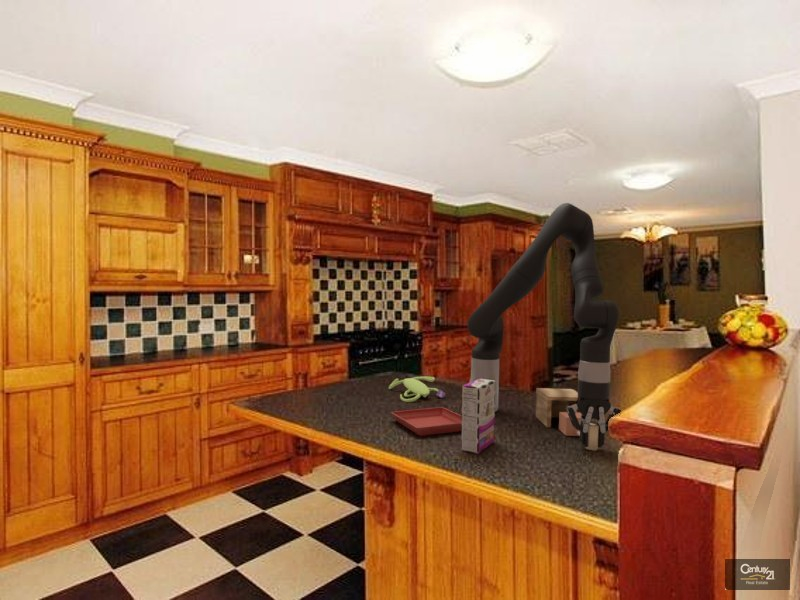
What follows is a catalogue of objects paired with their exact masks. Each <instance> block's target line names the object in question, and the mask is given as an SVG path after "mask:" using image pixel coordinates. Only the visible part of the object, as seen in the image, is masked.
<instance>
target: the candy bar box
mask: <svg viewBox="0 0 800 600" xmlns="http://www.w3.org/2000/svg"><path fill="white" fill-rule="evenodd" d="M495 412H496V411H495V381H494V380H488V379H477V380H475V381H472V382H470V381H469V382H468V383H465V384H463V385H461V416H462V430H461V431H460V432H461V433H460V434H461V435H460V436H461V438H460V439H461V443H460V445H461V447H460V449H461V451H462V452H463V451H464V452H466V453H467V452H468V453H471V454H477V455H478V454H480V453H482V452H483V451H484V450H485V449H488V447H490V446H491V445H492V444H494V442H495V426H496V425H495V417H496V414H495Z"/></svg>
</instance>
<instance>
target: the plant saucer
mask: <svg viewBox="0 0 800 600" xmlns="http://www.w3.org/2000/svg"><path fill="white" fill-rule="evenodd" d="M391 415H392V416H393V417H394V419H395V420H396V421H397V422H398V423H399V424H400V425H402V426H403V427H405V428H407V429H409V430H410V431H411V432H413V433H414V434H416V435H418V436H420V437H421V436H422V437H423V436H431V435H438V434H439V435H440V434H448V433H456V432H461V430H462V414H459V413H457V412H454V411H452V410H450V409H448V408H445V407H441V406H440V407H429V408H428V407H427V408H418V409H407V410H398V411H397V410H396V411H391Z"/></svg>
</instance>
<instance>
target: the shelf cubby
mask: <svg viewBox="0 0 800 600" xmlns="http://www.w3.org/2000/svg"><path fill="white" fill-rule="evenodd" d="M535 389H536V390H535V415H534V416H535V417H536V418H537V419H538V420H539V421H540V422H541V423H542V424H543V425H544V426H545V427H546V428H551V427H552V418H554V419H556V418H558V419H559V412H567V411H566V408H565V407H566V406H567V405H568V406H572V405H574V404H576V401H577V399H578V391H576V390H575V389H573V388H548V387H546V388H545V387H544V388H543V387H540V388H539V387H536V388H535ZM577 413H581V412H580V411H579V409H578V408H577Z"/></svg>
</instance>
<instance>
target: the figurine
mask: <svg viewBox="0 0 800 600" xmlns="http://www.w3.org/2000/svg"><path fill="white" fill-rule="evenodd" d="M421 380H422V381H427V382H429V383H430V382H431V383H432V382H434V381H435V377H434V376H428V375H427V376H415V377H411V378H404V379H401V380H399V378H395V379H394V380H392V382H391V384H389V386H388V389H389V390H391V389H393V388H395V387H396V386H399V385H402V384H403V386H404V387H406V389H407V390H406V391H404V393H403V394H401V393H400V394H399V399H400V400H401V401H402V402H407V403H413V402H416V401H417V400H418V399H421V397H422V398H427V396H429V395H430V392H431V391H433V392H437V393H436V394H435V396H437V397H439V398H440V399H444V398H445V396H446V393H445V392H444V391H443V390H442V389H439V388H435V387H428V386H427V385H426V384H425V383H423V382H422V381H421ZM409 393H410V394H409ZM403 395H404V397H407V398H404V397H403ZM412 396H414V397H412ZM408 397H411V398H408Z"/></svg>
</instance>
